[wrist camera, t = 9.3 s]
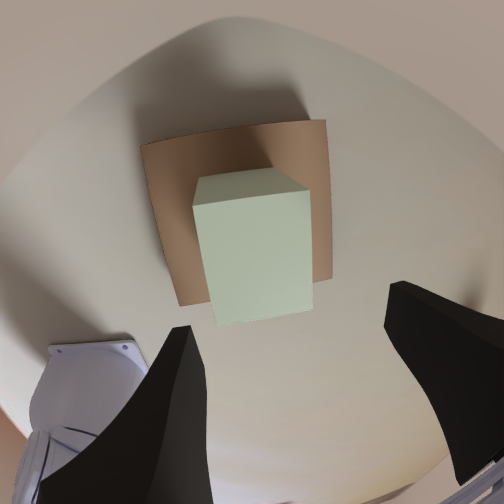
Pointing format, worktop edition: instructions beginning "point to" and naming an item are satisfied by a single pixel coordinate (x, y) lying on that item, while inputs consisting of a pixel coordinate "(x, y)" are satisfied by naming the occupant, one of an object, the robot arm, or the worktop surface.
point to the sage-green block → (254, 244)
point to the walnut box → (226, 161)
